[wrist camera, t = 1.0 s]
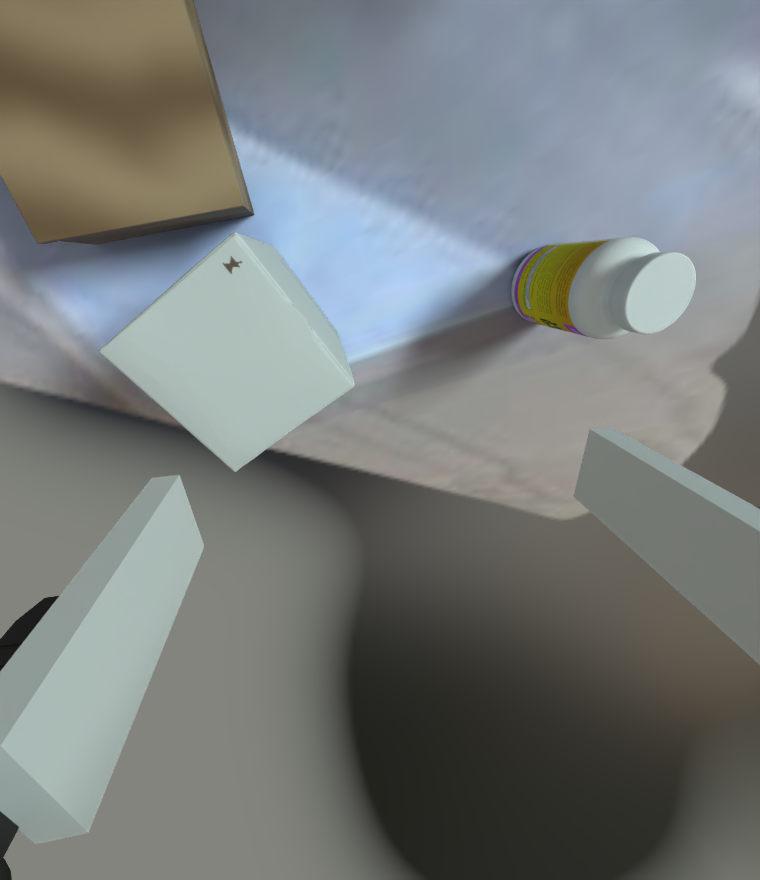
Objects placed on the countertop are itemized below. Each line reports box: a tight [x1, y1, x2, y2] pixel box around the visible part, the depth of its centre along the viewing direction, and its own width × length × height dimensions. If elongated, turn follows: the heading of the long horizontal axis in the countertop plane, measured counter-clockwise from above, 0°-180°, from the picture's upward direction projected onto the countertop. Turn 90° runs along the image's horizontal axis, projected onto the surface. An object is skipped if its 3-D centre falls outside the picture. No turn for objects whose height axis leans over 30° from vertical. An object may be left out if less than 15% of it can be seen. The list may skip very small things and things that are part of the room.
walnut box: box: [0, 0, 254, 244], centre depth 22 cm, size 12×12×6 cm
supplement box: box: [99, 232, 355, 472], centre depth 24 cm, size 9×9×15 cm
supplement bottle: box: [511, 237, 696, 339], centre depth 27 cm, size 7×7×13 cm
